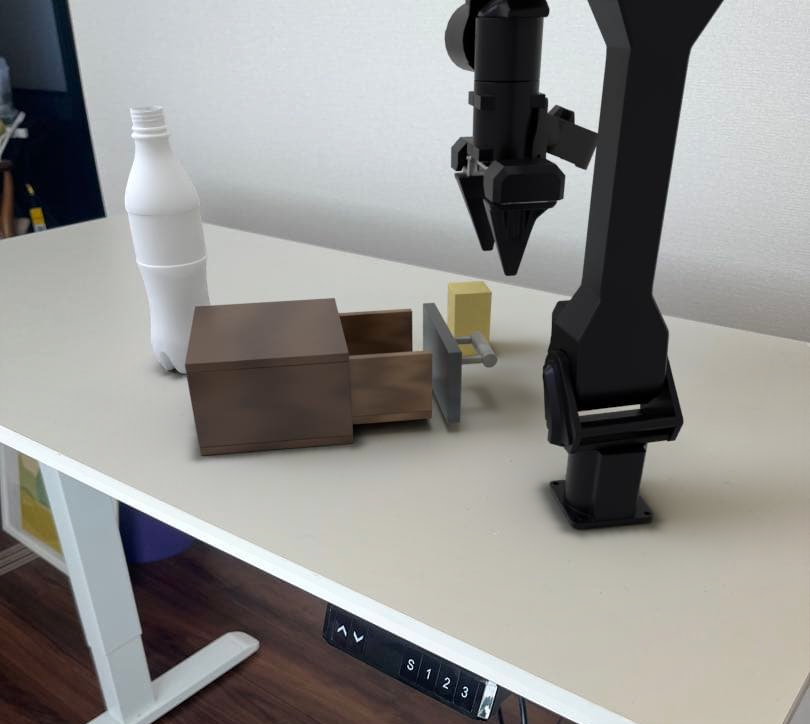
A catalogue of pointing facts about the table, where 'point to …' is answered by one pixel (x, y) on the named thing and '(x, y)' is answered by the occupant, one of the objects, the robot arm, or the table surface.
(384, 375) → the drawer
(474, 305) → the block
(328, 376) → the cabinet
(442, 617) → the table surface
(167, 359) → the water bottle
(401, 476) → the table surface
